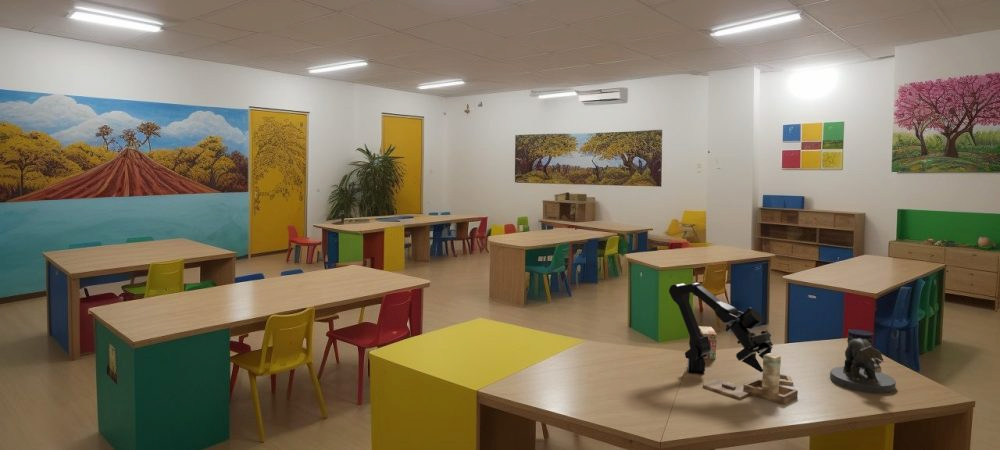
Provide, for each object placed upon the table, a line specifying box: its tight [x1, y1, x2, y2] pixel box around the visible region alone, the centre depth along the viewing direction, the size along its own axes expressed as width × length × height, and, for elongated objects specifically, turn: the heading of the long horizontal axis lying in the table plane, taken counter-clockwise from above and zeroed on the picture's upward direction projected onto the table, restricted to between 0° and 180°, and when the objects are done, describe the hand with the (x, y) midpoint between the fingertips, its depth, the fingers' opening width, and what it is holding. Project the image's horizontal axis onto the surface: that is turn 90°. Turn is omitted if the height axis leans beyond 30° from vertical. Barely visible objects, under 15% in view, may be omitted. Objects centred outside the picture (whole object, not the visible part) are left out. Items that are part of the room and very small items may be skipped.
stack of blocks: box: [698, 325, 718, 360], centre depth 284 cm, size 21×6×12 cm, turn 171°
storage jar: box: [847, 328, 874, 368], centre depth 268 cm, size 10×10×15 cm
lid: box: [702, 378, 752, 400], centre depth 236 cm, size 16×11×2 cm
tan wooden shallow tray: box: [742, 378, 799, 406], centre depth 232 cm, size 16×11×3 cm
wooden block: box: [761, 352, 782, 394], centre depth 231 cm, size 5×5×15 cm
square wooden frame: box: [779, 373, 794, 386], centre depth 248 cm, size 9×9×1 cm
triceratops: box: [829, 338, 897, 394], centre depth 245 cm, size 23×35×18 cm, turn 168°
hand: (768, 369), depth 232 cm, fingers open, 9 cm apart
